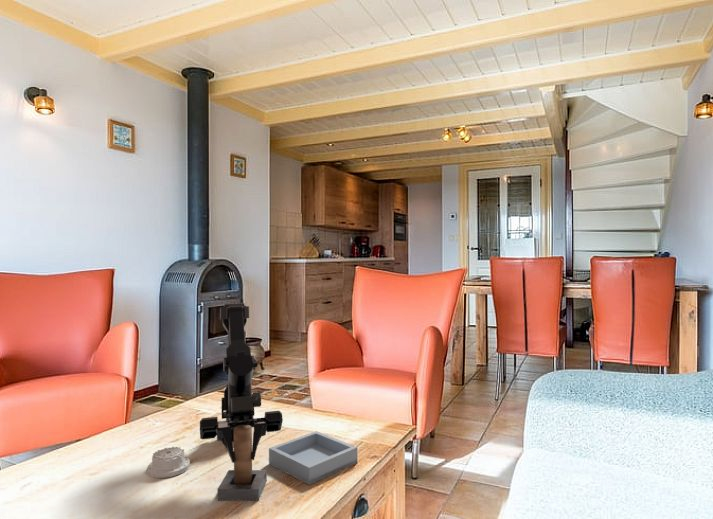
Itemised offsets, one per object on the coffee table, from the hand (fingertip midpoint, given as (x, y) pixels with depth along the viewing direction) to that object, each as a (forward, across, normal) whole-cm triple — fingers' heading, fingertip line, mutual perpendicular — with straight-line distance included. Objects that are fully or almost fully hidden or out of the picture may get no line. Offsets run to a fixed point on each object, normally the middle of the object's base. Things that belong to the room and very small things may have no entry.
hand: (243, 460), depth 107 cm
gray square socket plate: (+4, 0, +6) cm, 7 cm away
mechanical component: (-7, -17, +18) cm, 26 cm away
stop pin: (+4, 0, +6) cm, 7 cm away
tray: (-2, +18, +12) cm, 22 cm away
